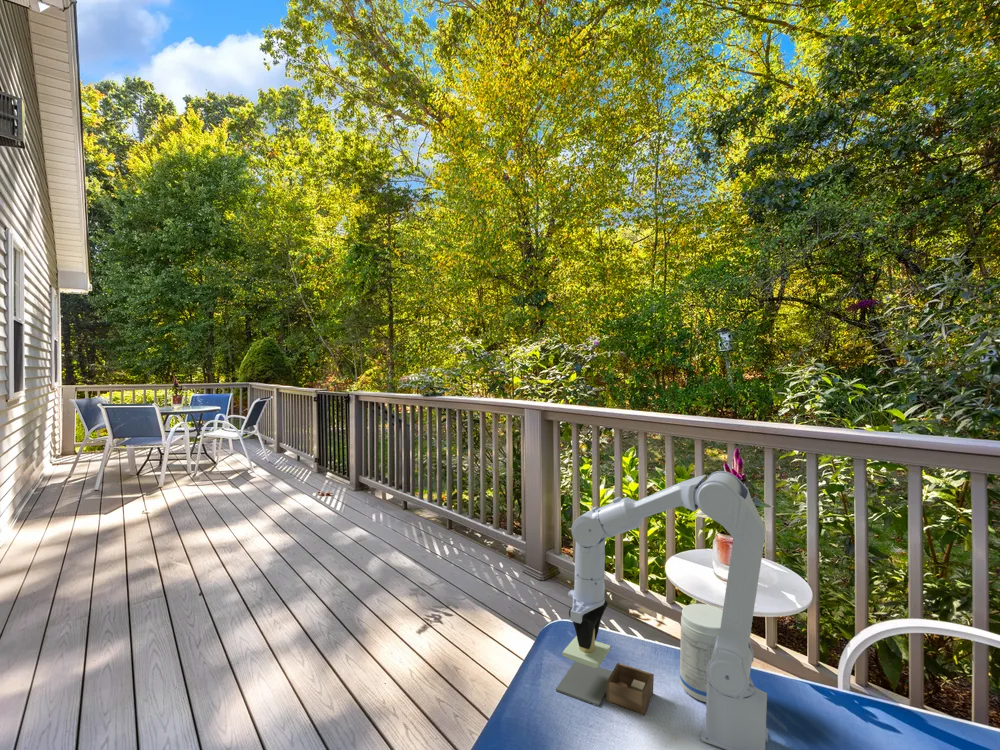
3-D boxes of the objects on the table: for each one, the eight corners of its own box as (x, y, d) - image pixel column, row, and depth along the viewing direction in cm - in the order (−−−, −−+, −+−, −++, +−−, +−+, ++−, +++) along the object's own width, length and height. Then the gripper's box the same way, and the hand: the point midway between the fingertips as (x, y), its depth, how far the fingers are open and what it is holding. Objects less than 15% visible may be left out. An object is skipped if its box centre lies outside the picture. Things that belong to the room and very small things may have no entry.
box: (653, 694, 95) (653, 674, 95) (644, 717, 89) (644, 695, 89) (617, 682, 98) (617, 662, 98) (606, 703, 92) (606, 682, 92)
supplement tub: (695, 668, 103) (697, 598, 103) (741, 692, 96) (744, 616, 95) (669, 686, 97) (671, 612, 97) (716, 713, 90) (719, 633, 89)
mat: (616, 674, 100) (616, 672, 100) (598, 706, 91) (598, 704, 91) (576, 661, 105) (576, 659, 105) (555, 690, 95) (555, 688, 95)
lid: (610, 653, 99) (611, 625, 99) (597, 672, 93) (598, 642, 93) (576, 642, 103) (577, 615, 102) (562, 660, 96) (562, 631, 96)
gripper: (582, 557, 105) (580, 620, 106) (555, 583, 93) (554, 654, 93) (615, 564, 102) (613, 629, 102) (592, 592, 89) (590, 666, 90)
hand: (587, 642), depth 98 cm, fingers closed on lid, 3 cm apart
